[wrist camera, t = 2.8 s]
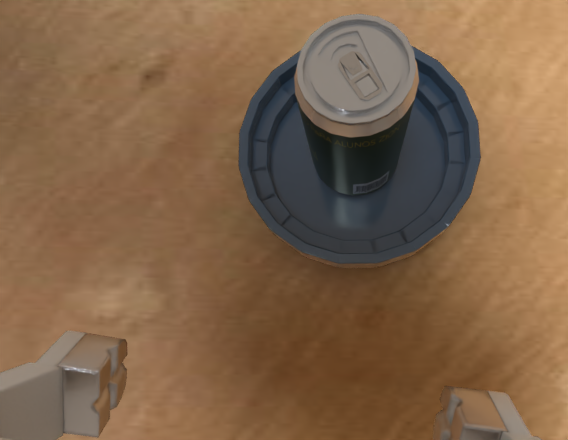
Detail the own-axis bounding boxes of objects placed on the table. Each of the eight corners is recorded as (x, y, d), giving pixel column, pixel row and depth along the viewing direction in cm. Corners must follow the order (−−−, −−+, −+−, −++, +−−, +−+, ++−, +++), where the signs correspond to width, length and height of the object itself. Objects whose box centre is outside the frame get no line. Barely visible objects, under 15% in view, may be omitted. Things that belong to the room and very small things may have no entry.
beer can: (414, 170, 32) (448, 83, 21) (341, 213, 32) (333, 153, 21) (369, 103, 34) (376, -14, 22) (298, 145, 34) (268, 52, 22)
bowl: (208, 143, 35) (195, 126, 32) (375, 20, 35) (377, -7, 32) (332, 314, 32) (330, 313, 29) (517, 178, 32) (533, 164, 29)
